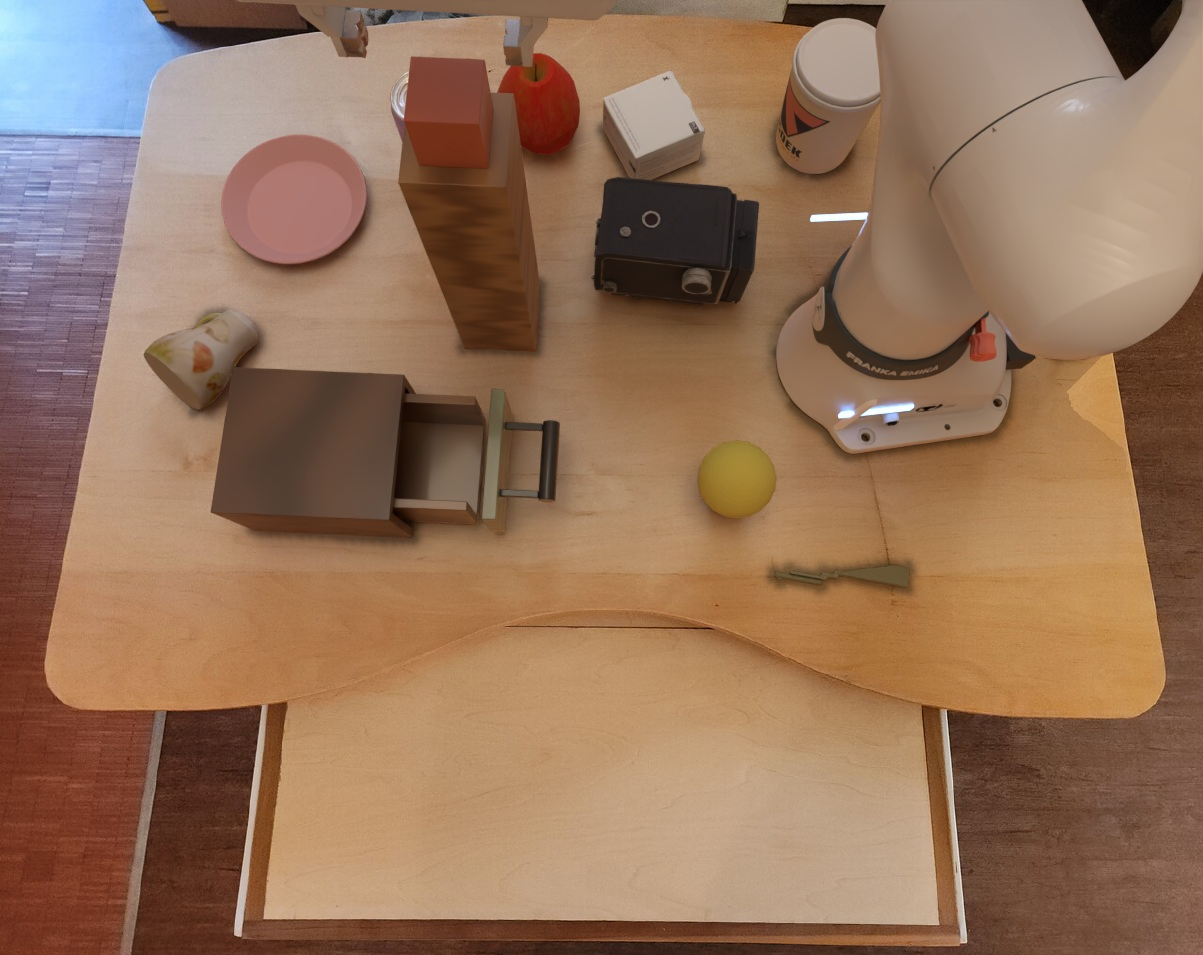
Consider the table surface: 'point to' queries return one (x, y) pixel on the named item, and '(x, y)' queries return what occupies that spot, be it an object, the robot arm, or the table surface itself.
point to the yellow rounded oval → (736, 479)
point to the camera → (674, 241)
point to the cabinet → (311, 452)
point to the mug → (202, 356)
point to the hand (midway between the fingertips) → (437, 52)
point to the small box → (653, 127)
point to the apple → (543, 104)
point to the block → (449, 112)
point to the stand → (480, 237)
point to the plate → (294, 199)
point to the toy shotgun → (856, 575)
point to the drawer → (464, 460)
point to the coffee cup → (829, 95)
